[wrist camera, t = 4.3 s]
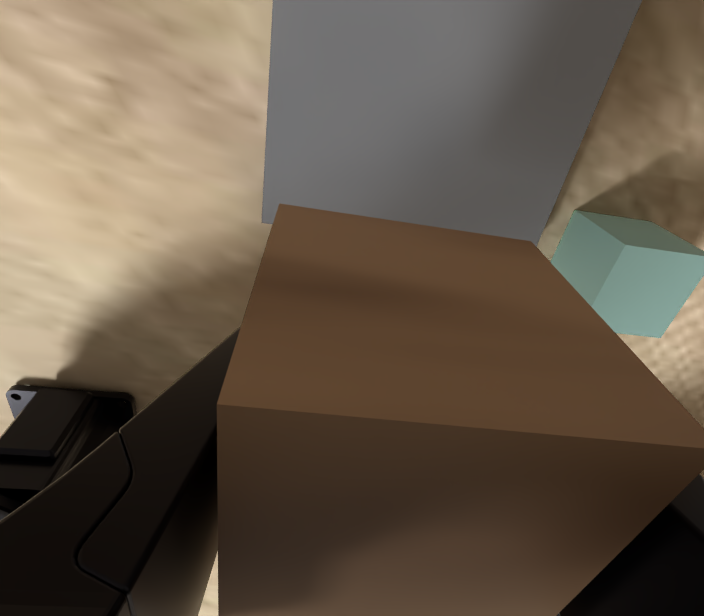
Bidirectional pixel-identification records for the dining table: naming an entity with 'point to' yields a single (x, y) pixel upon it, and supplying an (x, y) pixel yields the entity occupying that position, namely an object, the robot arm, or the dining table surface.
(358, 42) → the slate board
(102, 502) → the robot arm
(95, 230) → the dining table surface
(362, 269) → the walnut block
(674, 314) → the teal block
